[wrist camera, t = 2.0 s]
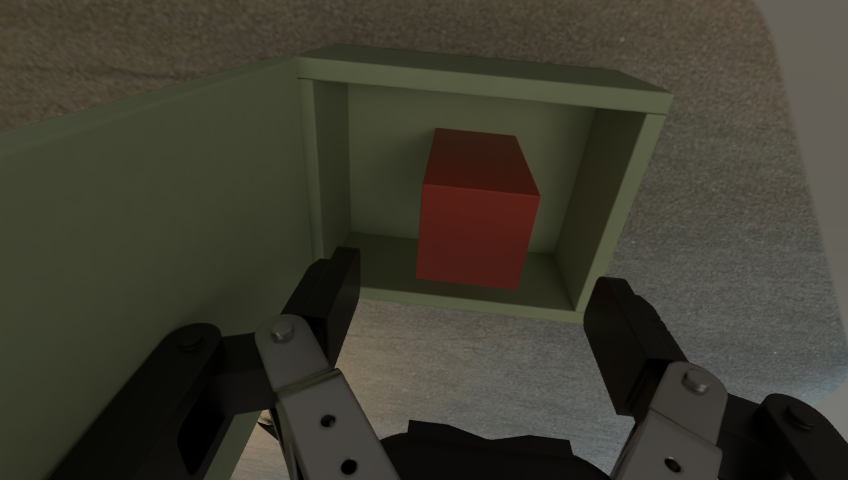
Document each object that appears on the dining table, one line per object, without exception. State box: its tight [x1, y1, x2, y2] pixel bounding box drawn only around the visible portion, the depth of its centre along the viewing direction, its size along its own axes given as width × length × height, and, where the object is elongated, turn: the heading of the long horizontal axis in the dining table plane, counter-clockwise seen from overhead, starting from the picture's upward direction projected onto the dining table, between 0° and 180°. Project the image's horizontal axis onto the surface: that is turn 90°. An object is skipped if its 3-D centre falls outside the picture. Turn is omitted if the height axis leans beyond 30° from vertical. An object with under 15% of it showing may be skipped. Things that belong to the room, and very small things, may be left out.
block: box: [415, 128, 541, 290], centre depth 19 cm, size 4×4×8 cm
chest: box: [292, 44, 675, 324], centre depth 20 cm, size 15×12×6 cm
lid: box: [0, 57, 313, 480], centre depth 11 cm, size 15×12×5 cm
